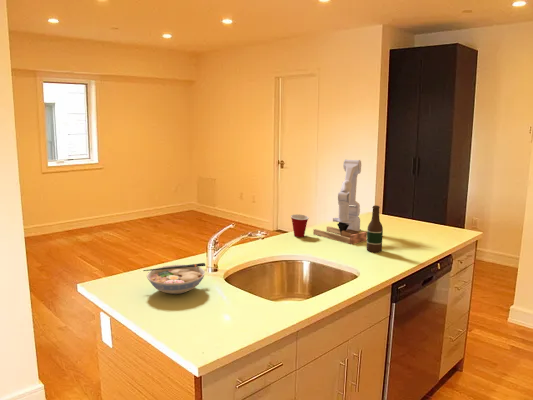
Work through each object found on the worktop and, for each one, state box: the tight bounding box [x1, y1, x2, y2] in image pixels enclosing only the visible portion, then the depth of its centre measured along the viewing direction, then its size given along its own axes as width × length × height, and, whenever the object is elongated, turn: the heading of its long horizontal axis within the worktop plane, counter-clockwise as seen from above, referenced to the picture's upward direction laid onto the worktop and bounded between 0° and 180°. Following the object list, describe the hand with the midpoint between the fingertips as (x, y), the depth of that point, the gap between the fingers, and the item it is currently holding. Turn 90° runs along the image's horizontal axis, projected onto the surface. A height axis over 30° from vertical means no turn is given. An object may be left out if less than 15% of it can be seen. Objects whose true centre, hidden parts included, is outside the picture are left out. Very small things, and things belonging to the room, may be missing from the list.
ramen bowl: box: [142, 262, 206, 295], centre depth 181 cm, size 25×23×8 cm
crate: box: [341, 229, 360, 238], centre depth 260 cm, size 7×7×5 cm
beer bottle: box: [366, 205, 384, 254], centre depth 237 cm, size 8×8×24 cm
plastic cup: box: [290, 214, 310, 238], centre depth 268 cm, size 11×11×12 cm
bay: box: [312, 226, 367, 245], centre depth 266 cm, size 13×30×5 cm, turn 40°
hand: (342, 235), depth 264 cm, fingers closed
